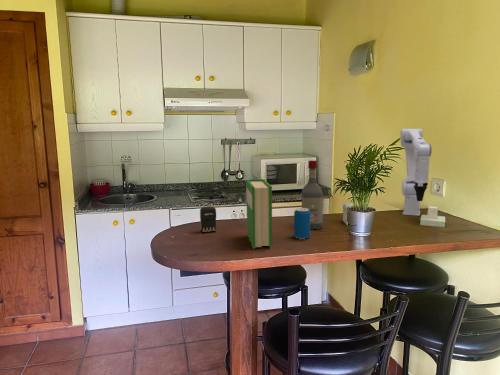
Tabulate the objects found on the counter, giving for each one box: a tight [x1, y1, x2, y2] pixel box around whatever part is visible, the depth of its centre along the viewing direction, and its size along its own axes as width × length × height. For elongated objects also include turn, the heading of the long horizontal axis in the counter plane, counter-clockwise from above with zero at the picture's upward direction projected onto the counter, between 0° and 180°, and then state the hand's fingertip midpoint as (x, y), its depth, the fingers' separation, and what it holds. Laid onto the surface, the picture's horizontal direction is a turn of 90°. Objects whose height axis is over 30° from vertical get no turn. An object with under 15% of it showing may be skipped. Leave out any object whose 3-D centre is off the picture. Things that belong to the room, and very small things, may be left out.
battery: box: [199, 205, 217, 231], centre depth 170 cm, size 7×4×11 cm, turn 102°
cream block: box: [426, 205, 439, 219], centre depth 178 cm, size 4×4×5 cm
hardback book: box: [245, 178, 273, 248], centre depth 154 cm, size 18×7×24 cm, turn 7°
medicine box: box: [342, 202, 353, 226], centre depth 181 cm, size 8×4×9 cm, turn 179°
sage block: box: [419, 214, 446, 228], centre depth 179 cm, size 10×10×2 cm
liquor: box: [301, 159, 324, 230], centre depth 174 cm, size 9×9×30 cm
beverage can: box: [293, 207, 311, 240], centre depth 160 cm, size 6×6×12 cm
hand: (420, 199), depth 181 cm, fingers open, 7 cm apart
